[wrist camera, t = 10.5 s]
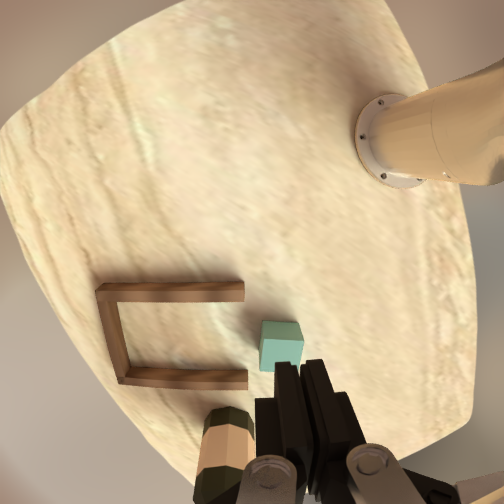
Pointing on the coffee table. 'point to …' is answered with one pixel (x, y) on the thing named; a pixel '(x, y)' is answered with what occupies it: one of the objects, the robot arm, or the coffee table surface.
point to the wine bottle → (223, 452)
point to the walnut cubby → (165, 293)
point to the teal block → (280, 344)
